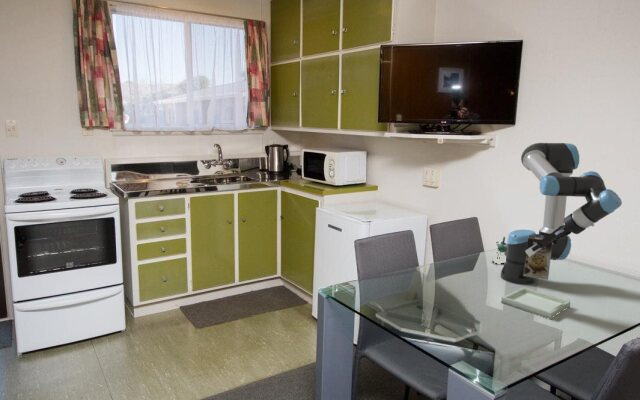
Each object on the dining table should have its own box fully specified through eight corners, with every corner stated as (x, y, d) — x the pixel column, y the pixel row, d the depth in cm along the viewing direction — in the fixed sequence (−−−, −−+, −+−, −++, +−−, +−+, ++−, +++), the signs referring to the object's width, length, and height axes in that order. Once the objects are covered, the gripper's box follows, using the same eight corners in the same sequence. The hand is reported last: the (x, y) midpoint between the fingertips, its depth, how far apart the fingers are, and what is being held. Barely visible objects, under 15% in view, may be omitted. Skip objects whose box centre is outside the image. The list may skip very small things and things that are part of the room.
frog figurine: (520, 260, 248) (521, 234, 244) (500, 270, 238) (501, 243, 234) (504, 256, 255) (505, 230, 251) (484, 265, 245) (485, 239, 241)
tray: (501, 302, 192) (501, 297, 192) (522, 292, 203) (522, 287, 203) (550, 319, 177) (550, 313, 177) (569, 307, 188) (570, 301, 188)
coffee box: (523, 276, 188) (527, 238, 184) (524, 271, 193) (528, 234, 190) (548, 280, 183) (552, 241, 180) (549, 275, 189) (553, 237, 186)
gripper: (573, 233, 165) (526, 264, 180) (597, 224, 178) (551, 254, 193) (560, 216, 168) (514, 248, 183) (584, 209, 181) (539, 239, 196)
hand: (533, 251), depth 188 cm, fingers closed on coffee box, 9 cm apart
